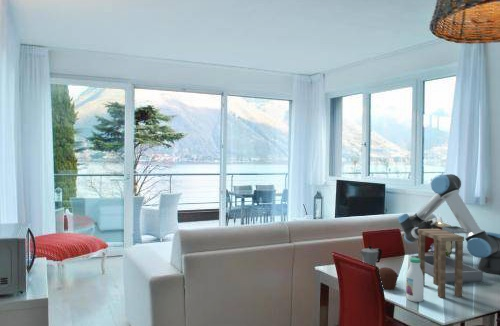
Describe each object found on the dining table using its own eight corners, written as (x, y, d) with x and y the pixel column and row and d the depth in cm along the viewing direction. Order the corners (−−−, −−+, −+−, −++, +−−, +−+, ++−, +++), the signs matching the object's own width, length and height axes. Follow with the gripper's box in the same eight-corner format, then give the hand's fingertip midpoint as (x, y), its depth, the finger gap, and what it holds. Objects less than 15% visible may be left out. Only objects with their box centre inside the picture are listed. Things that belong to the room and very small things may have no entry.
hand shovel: (423, 223, 243) (423, 219, 243) (436, 223, 244) (436, 219, 244) (453, 233, 214) (453, 228, 214) (468, 233, 215) (468, 228, 215)
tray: (411, 265, 245) (411, 255, 245) (443, 264, 248) (443, 254, 248) (445, 283, 211) (445, 272, 210) (482, 282, 213) (482, 271, 213)
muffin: (370, 284, 209) (370, 266, 209) (387, 282, 213) (387, 264, 212) (385, 292, 198) (385, 272, 197) (402, 289, 202) (403, 270, 201)
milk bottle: (422, 297, 190) (423, 257, 190) (424, 303, 183) (424, 261, 183) (405, 295, 193) (406, 255, 192) (406, 301, 186) (407, 259, 185)
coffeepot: (365, 280, 216) (366, 248, 216) (355, 275, 225) (355, 244, 225) (387, 276, 222) (387, 245, 222) (376, 272, 231) (376, 242, 231)
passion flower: (436, 264, 266) (425, 250, 267) (436, 258, 275) (426, 244, 277) (451, 257, 261) (440, 242, 262) (451, 251, 270) (440, 236, 271)
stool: (417, 283, 210) (417, 229, 210) (437, 283, 212) (438, 228, 211) (440, 298, 189) (441, 237, 189) (463, 297, 191) (464, 236, 190)
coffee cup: (454, 253, 276) (454, 236, 275) (440, 252, 277) (440, 236, 277) (450, 250, 285) (450, 233, 284) (436, 249, 287) (436, 233, 286)
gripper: (432, 236, 254) (452, 225, 234) (409, 237, 252) (428, 225, 232) (429, 225, 258) (449, 213, 237) (407, 226, 256) (424, 213, 235)
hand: (438, 219), depth 235 cm, fingers closed on hand shovel, 3 cm apart
